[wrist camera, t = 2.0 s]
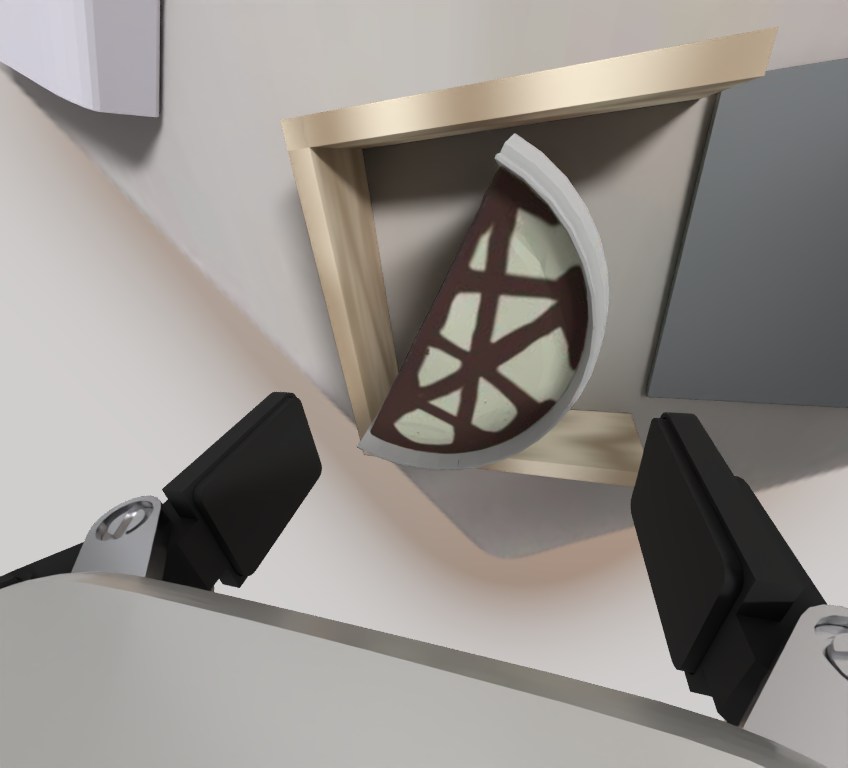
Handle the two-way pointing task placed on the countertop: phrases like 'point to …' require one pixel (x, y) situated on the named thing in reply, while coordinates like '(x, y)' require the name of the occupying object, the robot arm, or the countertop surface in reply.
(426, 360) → the food container
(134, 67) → the charger
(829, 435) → the countertop surface
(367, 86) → the countertop surface
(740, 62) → the open box
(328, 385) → the countertop surface
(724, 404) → the countertop surface
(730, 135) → the mat
